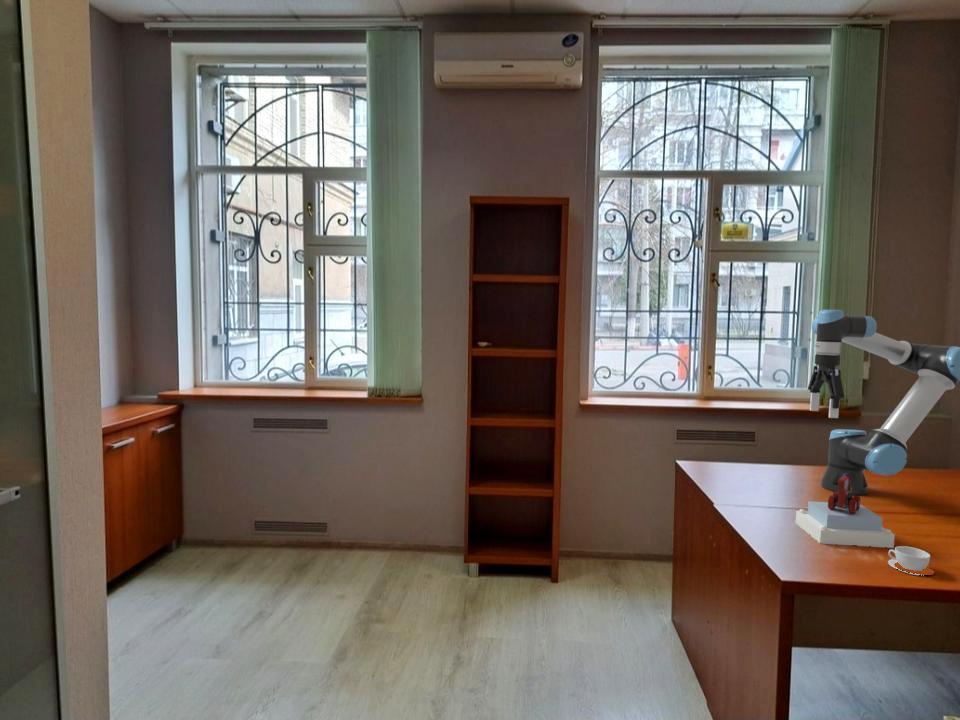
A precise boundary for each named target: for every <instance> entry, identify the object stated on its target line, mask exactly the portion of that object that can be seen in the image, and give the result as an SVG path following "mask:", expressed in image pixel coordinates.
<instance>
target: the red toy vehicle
mask: <svg viewBox="0 0 960 720" xmlns="http://www.w3.org/2000/svg"><path fill="white" fill-rule="evenodd" d="M851 491H852V487H851V480H850V475H849V474H847V473H845V474H843V476H842V477H841V478H840V479H839V482H838V492H834V491H833V492H832V495H829V496H828V500H827V502H828V508H829V509H835V506H836V505H837V506H838V508H842V509H845V508H846V507H848V508H849V513H851V514H855V513H856V510H859V508H860V505H861V496H859V495H853V494H852V493H851Z"/></svg>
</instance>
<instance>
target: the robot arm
mask: <svg viewBox="0 0 960 720" xmlns="http://www.w3.org/2000/svg"><path fill="white" fill-rule="evenodd" d="M877 326H878V323H877V321H876V319H875V318H874V317H872V316H866V315H845V313H844V310H842V309H821V310H820V311H819V312H818V316H816V317H815V318H813V320H812V322H811V330H812V332H813V333H814V334H816V340H815V341H816V344H815V345H814V347H815V352H816V354H815V355H814V364H815V365H814V366H813V370H812V375H811V377H810V379H809V383H808V387H807V390H808V391H809V392H810V404H809V411H812V412H819V409H820V408H819V407H820V399H821V398H820V397H821V396H820V395H821V391H820V390H821V388H822V387H823V385H824V383H826V384H827V387H828V391H829V394H830V397H829V405H828V406H829V407H828V418H829V419H838V418H839V414H840V413H839V412H840V411H839V410H840V400H841V399H844V398H845V394H844V387H843V382H842V376H841V375H842V372H841V369H836V367H838V366H840V365H841V355H840V354H841V353H842V343H845V344H848V345H850V346H853V347H856V348H858V349H861V350H863V351H866V352H868V353H871V354H873V355H876V356H878V357H881V358H883V359H886V360H888V362H889V363H890V364H892V365H894V366H897V367H899V368H902V369H904V370H906V371H908V372H911V373H913V374H917V375H918V379H917V380H916V381H915V382H914V384H912V386H911V388H910V389H909V390H908V391H907V393H906V394H905V395H904V397H903V398H902V400H901V401H900V402H899V403H898V404H897V406H896V407H895V409H894V410H893V411H892V412H891V414H890V415H889V417H888V418H886V420H885V421H884V422H883V424H882V425H881V427H880V428H875V429H872V430H871V431H870V433H869V434H867V431H865V430H861V429H860V430H858V429H847V428H845V429H843V428H841V429H840V428H839V429H833V430H831V431H830V434H829V437H828V454H827V467H826V469H825V472H824V473H823V475H822V477H821V481H820V485H821V487H822V488H824V489H825V490H829V491H832V492H833V493H834V492H838V482H839V479H840V478H841V477H842V476H843V474H845V473H847V474H849V475H850V480H851V487H852V491H851V493H852V494H853V496H859V495H860V496H861V495H862V496H863V495H866V494H868V490H869V487H868V486H869V485H868V483H867V479H866V475H865V471H868V472H871V473H872V474H876V475H880V476H881V475H882V476H887V477H888V476H894V475H896V474H898V473H899V472H901V471H902V470H903V469H904V468H905V466H906V464H907V461H908V460H907V458H908V454H907V452H906V451H907V450H908V447H907V441H908V440H909V439H910V437H912V435H913V433H914V432H915V430H917V428H918V427H919V426H920V425H921V423H922V422H923V420H924V419H925V418H926V416H928V414H929V413H930V412H931V410H932V409H933V407H934V406H935V405H936V404H937V403H938V401H939V400H940V399H941V397H942V395H943V394H944V393H945V392H946V391H948V390H949V391H950V390H953V389H954V388H955V387H956V386H957V385H958V383H959V382H960V346H957V345H953V346H948V345H947V346H945V345H935V344H919V343H912V342H909V341H907V340H899V341H898V340H897V339H893V338H891V337H888V336H886V335H883V334H881V333H878V332H877V328H878V327H877ZM864 470H865V471H864Z"/></svg>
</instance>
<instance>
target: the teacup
mask: <svg viewBox="0 0 960 720" xmlns="http://www.w3.org/2000/svg"><path fill="white" fill-rule="evenodd" d="M892 553H893V554H894V555H895V557H894V556H893V555H892ZM887 554H888V557H889V558H891V559H889V560H887V564H888V565H889V566H890V567H892V568H893V569H896V570H897V569H898V568H897V567H895V565H894V564H895V563H897V562H898V563H899V564H900V565H901V566H902V567H903V568H905V569H909V570H913V571H922V570H923V569H925V568H926V567H927V566H928V565H929V564H930V559H931V554H930V553H929V552H927V551H925V550H923V549H920V548H916V547H911V546H908V545H907V546H906V545H905V546H904V545H899V546H896V547H894V549H889V550H888V553H887ZM928 567H929V566H928ZM898 571H900V572H903V573H906V574H909V575H915V576H919V575H920V574H916V573H915V574H913V573H911V572H910V573H908V572H906V571H902V570H900V569H898ZM920 577H925V576H924V575H923V576H922V574H921V576H920Z"/></svg>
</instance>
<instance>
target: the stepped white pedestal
mask: <svg viewBox="0 0 960 720" xmlns="http://www.w3.org/2000/svg"><path fill="white" fill-rule="evenodd" d="M807 502H808V503H807V504H808V505H807V511H806V509H804V508H800V509H799V510H796V511H795V524H796V525H797V526H798V527H800V528H801V529H802V530H803V531H804V530H805V533H807V534H808V535H809V534H810V535H811V536H810V535H809V536H810V537H811V538H813V539H814V540H815V541H816V540H817V541H816V542H817V543H819V544H820V543H821V544H823V545H836V544H837V545H839V546H852V545H857V547H869V546H871V548H872V547H873V548H885V547H887V548H888V549H889V548H890V549H895V538H896V535H895V533H893V532H892V529H890V528H886V527H884V526H882V525H883V517H882V516H880V515H878V514H877V513H875V512H873V511H871V510H870V509H868V508H867V507H866V506H864V505H862V504H860V508H859V510H856V513H855V514H851V513H849V508H848V507H846V508H845V509H842V508H838V506H837V505H836V506H835V509H829V508H828V501H815V500H814V501H809V500H808V501H807ZM821 544H820V545H821Z"/></svg>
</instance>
